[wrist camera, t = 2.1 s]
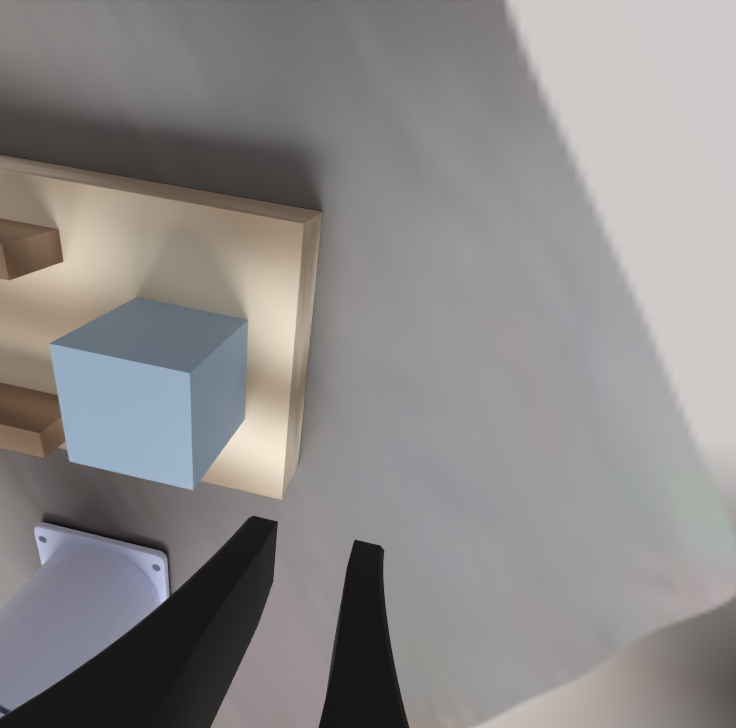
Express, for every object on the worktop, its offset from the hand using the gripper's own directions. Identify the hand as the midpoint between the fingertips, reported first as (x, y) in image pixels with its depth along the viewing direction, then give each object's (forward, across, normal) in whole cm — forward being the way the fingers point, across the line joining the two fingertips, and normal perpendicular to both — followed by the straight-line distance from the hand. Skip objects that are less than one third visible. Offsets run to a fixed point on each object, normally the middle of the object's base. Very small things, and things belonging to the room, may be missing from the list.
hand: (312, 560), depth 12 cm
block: (+8, +7, 0) cm, 11 cm away
